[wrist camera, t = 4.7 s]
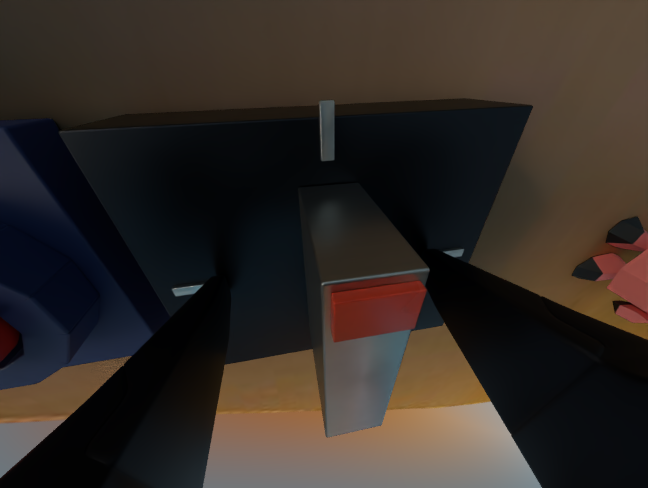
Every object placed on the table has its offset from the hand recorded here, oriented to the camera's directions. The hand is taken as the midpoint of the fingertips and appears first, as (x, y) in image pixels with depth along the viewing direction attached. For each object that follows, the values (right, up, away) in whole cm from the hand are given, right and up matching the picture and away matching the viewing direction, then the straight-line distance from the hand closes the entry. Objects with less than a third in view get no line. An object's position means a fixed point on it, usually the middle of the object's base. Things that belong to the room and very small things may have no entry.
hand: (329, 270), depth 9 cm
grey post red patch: (0, 0, 0) cm, 0 cm away
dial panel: (-1, +2, +2) cm, 3 cm away
